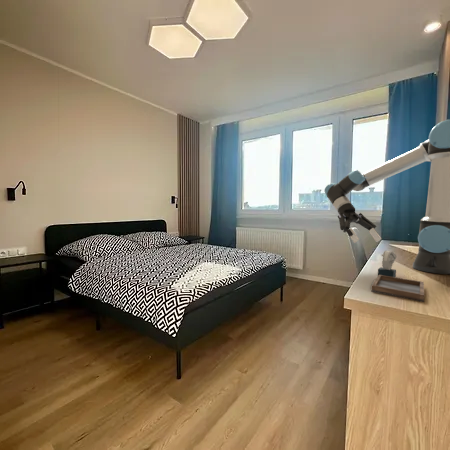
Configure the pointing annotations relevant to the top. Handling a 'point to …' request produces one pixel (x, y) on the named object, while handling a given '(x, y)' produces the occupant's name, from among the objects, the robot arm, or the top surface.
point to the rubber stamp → (388, 264)
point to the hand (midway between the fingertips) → (368, 240)
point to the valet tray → (399, 287)
